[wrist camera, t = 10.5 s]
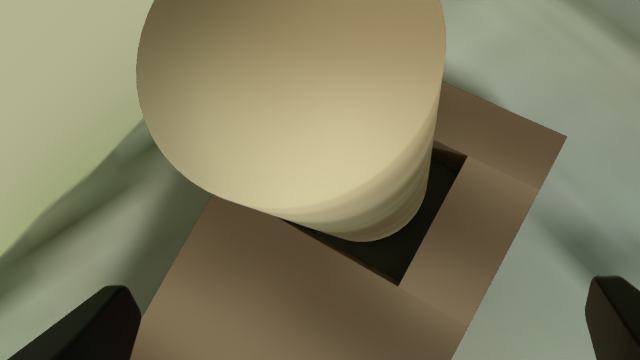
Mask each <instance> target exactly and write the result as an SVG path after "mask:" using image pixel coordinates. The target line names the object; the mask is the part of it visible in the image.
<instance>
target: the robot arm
mask: <svg viewBox="0 0 640 360" xmlns="http://www.w3.org/2000/svg"><path fill="white" fill-rule="evenodd" d="M585 317H586V322H587V325H588V329H589V333H590V337H591V340H592V344H593V348H594V351H595V355H596V359H597V360H640V291H639V290H638V289H637V288H635V287H634V286H633V285H631V284H630V283H629V282H628V281H626V280H625V279H624V278H622V277H620V276H595V277H594V278H593V279H592V281H591V284H590V288H589V293H588V297H587V302H586V306H585ZM140 323H141V312H140V309H139V307H138V305H137V304H136V302H135V300H134V298H133V296H132V294H131V293H130V291H129V289H128V288H127V287H126V286H123V285H113V286H106V287H104V288H102V289H101V290H99V291H98V292H97V293H95V294H94V295H93V296H91V297H90V298H89V299H87V300H86V301H85V302H83V303H82V304H81V305H79V306H78V307H77V308H75V309H74V310H73V311H71V312H70V313H69V314H68V315H66V316H65V317H64V318H62V319H61V320H60V321H58V322H57V323H56V324H54V325H53V326H52V327H50V328H49V329H48V330H46V331H45V332H44V333H42V334H41V335H40V336H38V337H37V338H36V339H34V340H33V341H32V342H30V343H29V344H28V345H26V346H25V347H24V348H22V349H21V350H20V351H18V352H17V353H16V354H14V355H13V356H12V357H10V358H9V359H8V360H130V358H131V355H132V351H133V348H134V344H135V341H136V337H137V334H138V330H139V327H140Z"/></svg>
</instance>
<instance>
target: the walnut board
mask: <svg viewBox="0 0 640 360" xmlns="http://www.w3.org/2000/svg"><path fill="white" fill-rule="evenodd" d="M566 138H567V136H565V135H563V134H560V133H558V132H556V131H553V130H551V129H549V128H547V127H544V126H542V125H540V124H538V123H535V122H533V121H531V120H528V119H526V118H524V117H522V116H519V115H517V114H515V113H512V112H510V111H508V110H506V109H503V108H501V107H499V106H496V105H494V104H492V103H490V102H487V101H485V100H483V99H481V98H478V97H476V96H474V95H471V94H469V93H467V92H465V91H462V90H460V89H458V88H455V87H453V86H451V85H449V84H446V83H444V82H442V84H441V91H440V98H439V105H438V112H437V119H436V126H435V133H434V140H433V147H432V154H431V159H433V160H435V161H437V162H439V163H442V164H444V165H446V166H448V167H450V168H452V169H454V170H456V171H458V172H459V174H458V176H457V177H456V179H455V181H454V183H453V185H452V187H451V189H450V191H449V192H448V194H447V196H446V198H445V200H444V202H443V204H442V206H441V207H440V209H439V211H438V213H437V215H436V217H435V219H434V221H433V222H432V224H431V226H430V228H429V230H428V232H427V234H426V235H425V237H424V239H423V241H422V243H421V245H420V247H419V249H418V250H417V252H416V254H415V256H414V258H413V260H412V262H411V264H410V265H409V267H408V269H407V271H406V273H405V275H404V277H403V279H402V280H401V282H398V281H396V280H394V279H393V278H391V277H389V276H387V275H386V274H384V273H382V272H380V271H379V270H377V269H375V268H373V267H371V266H370V265H368V264H366V263H364V262H363V261H361V260H359V259H357V258H356V257H354V256H352V255H350V254H349V253H347V252H345V251H343V250H342V249H340V248H338V247H336V246H335V245H333V244H331V243H329V242H328V241H326V240H324V239H322V238H321V237H319V236H317V235H315V234H314V233H312V232H310V231H308V230H306V229H305V228H303V227H301V226H299V225H298V224H296V223H294V222H291V221H288V220H285V219H282V218H279V217H276V216H273V215H270V214H267V213H264V212H261V211H258V210H255V209H252V208H250V207H247V206H244V205H241V204H238V203H235V202H232V201H229V200H226V199H223V198H221V197H219V196H216V195H214V194H212V195H211V197H210V199H209V201H208V202H207V204H206V206H205V208H204V209H203V211H202V213H201V215H200V216H199V218H198V220H197V222H196V224H195V225H194V227H193V229H192V231H191V232H190V234H189V236H188V238H187V239H186V241H185V243H184V245H183V246H182V248H181V250H180V252H179V254H178V255H177V257H176V259H175V261H174V262H173V264H172V266H171V268H170V269H169V271H168V273H167V275H166V276H165V278H164V280H163V282H162V284H161V285H160V287H159V289H158V291H157V292H156V294H155V296H154V298H153V299H152V301H151V303H150V305H149V306H148V308H147V310H146V312H145V314H144V315H143V317H142V319H141V323H140V327H139V330H138V334H137V337H136V341H135V344H134V348H133V351H132V355H131V358H130V360H451V359H452V357H453V355H454V353H455V351H456V349H457V347H458V345H459V343H460V342H461V340H462V338H463V336H464V334H465V332H466V330H467V328H468V326H469V324H470V322H471V320H472V319H473V317H474V315H475V313H476V311H477V309H478V307H479V305H480V303H481V301H482V299H483V297H484V296H485V294H486V292H487V290H488V288H489V286H490V284H491V282H492V280H493V278H494V276H495V274H496V273H497V271H498V269H499V267H500V265H501V263H502V261H503V259H504V257H505V255H506V253H507V251H508V250H509V248H510V246H511V244H512V242H513V240H514V238H515V236H516V234H517V232H518V230H519V228H520V227H521V225H522V223H523V221H524V219H525V217H526V215H527V213H528V211H529V209H530V207H531V205H532V204H533V202H534V200H535V198H536V196H537V194H538V192H539V190H540V188H541V186H542V184H543V182H544V181H545V179H546V177H547V175H548V173H549V171H550V169H551V167H552V165H553V163H554V161H555V159H556V158H557V156H558V154H559V152H560V150H561V148H562V146H563V144H564V142H565V140H566Z"/></svg>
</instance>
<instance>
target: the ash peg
mask: <svg viewBox="0 0 640 360" xmlns="http://www.w3.org/2000/svg"><path fill="white" fill-rule="evenodd" d="M445 53H446V27H445V21H444V15H443V9H442V5H441V2H440V0H154V3H153V4H152V7H151V8H150V11H149V13H148V16H147V18H146V21H145V24H144V27H143V30H142V34H141V38H140V43H139V47H138V55H137V65H136V74H137V90H138V96H139V102H140V107H141V110H142V113H143V116H144V120H145V123H146V125H147V127H148V129H149V131H150V133H151V136H152V138H153V139H154V141H155V143H156V144H157V146H158V147H159V149H160V150H161V152H162V153H163V155H164V156H165V157H166V158H167V159H168V160H169V162H170V163H171V164H172V165H173V166H174V167H175V168H176V169H177V170H178V171H179V172H180V173H182V174H183V175H184V176H185V177H186V178H187V179H189V180H190V181H191V182H193V183H194V184H196V185H198V186H199V187H201V188H202V189H204V190H206V191H207V192H210V193H212V194H214V195H216V196H219V197H221V198H223V199H226V200H229V201H232V202H235V203H238V204H241V205H244V206H247V207H250V208H252V209H255V210H258V211H261V212H264V213H267V214H270V215H273V216H276V217H279V218H282V219H285V220H288V221H291V222H294V223H297V224H300V225H303V226H306V227H309V228H312V229H315V230H318V231H321V232H324V233H327V234H330V235H332V236H335V237H338V238H342V239H345V240H349V241H356V242H366V241H374V240H378V239H382V238H385V237H387V236H390V235H392V234H393V233H395V232H397V231H399V230H400V229H401V228H402V227H404V226H405V225H406V224H407V223H408V222H409V221H410V220H411V219H412V218H413V217H414V215H415V214H416V213H417V211H418V209H419V208H420V206H421V204H422V201H423V199H424V196H425V192H426V189H427V182H428V175H429V168H430V161H431V154H432V147H433V140H434V133H435V126H436V119H437V112H438V105H439V98H440V91H441V84H442V77H443V69H444V61H445Z"/></svg>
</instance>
